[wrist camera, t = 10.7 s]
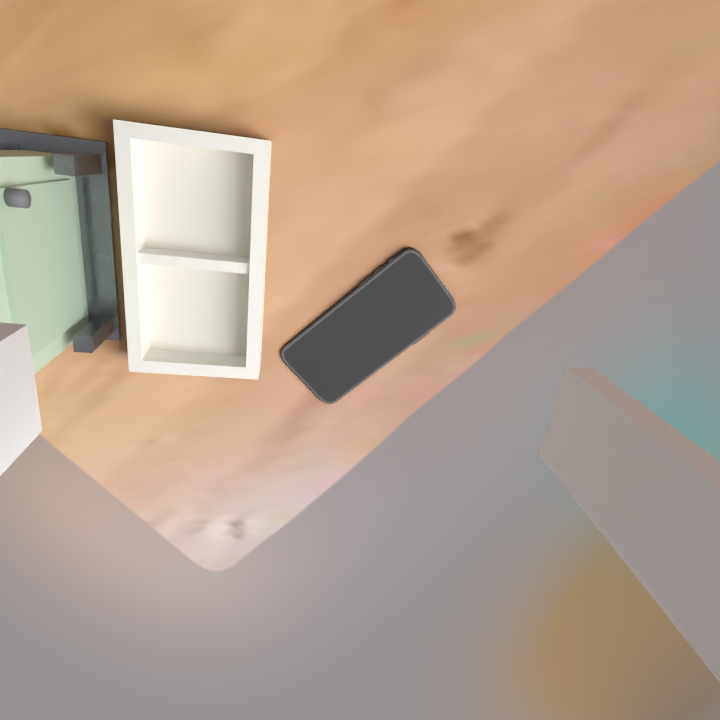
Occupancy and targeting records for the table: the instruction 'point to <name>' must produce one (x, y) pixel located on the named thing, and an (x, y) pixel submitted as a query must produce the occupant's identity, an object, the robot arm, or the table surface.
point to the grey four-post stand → (85, 225)
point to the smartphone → (369, 326)
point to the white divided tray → (192, 248)
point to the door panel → (40, 253)
